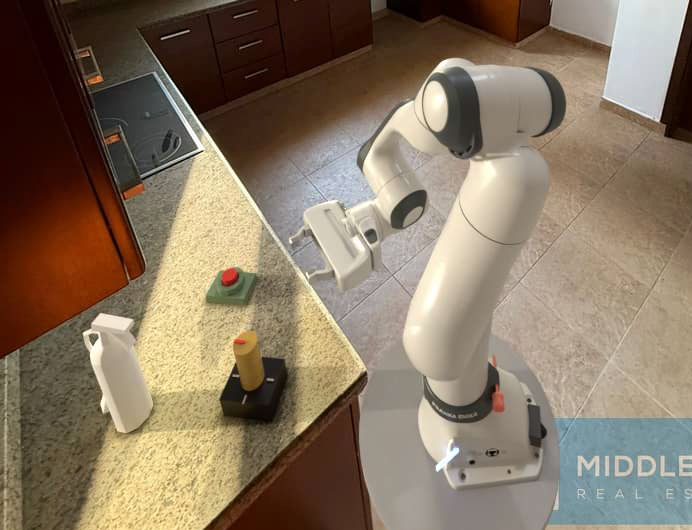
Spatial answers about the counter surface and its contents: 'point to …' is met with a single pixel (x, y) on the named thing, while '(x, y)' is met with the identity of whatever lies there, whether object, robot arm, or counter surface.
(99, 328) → the white plastic jug
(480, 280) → the robot arm
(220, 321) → the counter surface
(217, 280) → the button box
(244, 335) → the yellow cylinder
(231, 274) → the button
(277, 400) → the black block
